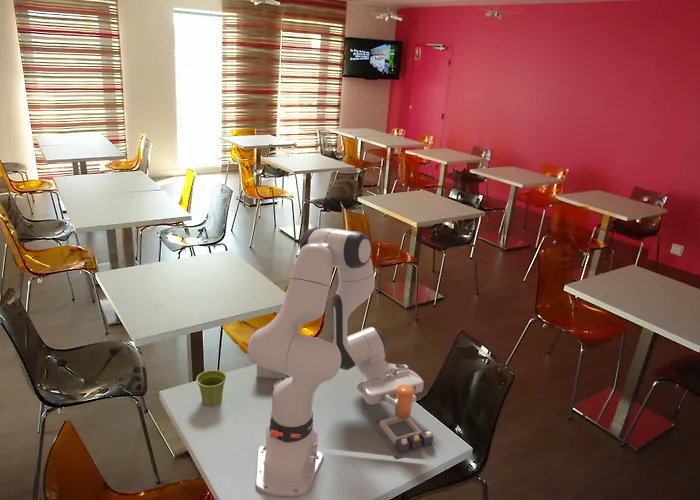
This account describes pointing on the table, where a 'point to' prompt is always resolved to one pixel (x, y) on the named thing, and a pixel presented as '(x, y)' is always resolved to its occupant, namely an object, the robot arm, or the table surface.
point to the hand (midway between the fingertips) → (405, 402)
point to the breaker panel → (398, 430)
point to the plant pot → (211, 386)
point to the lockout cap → (404, 401)
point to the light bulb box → (269, 373)
